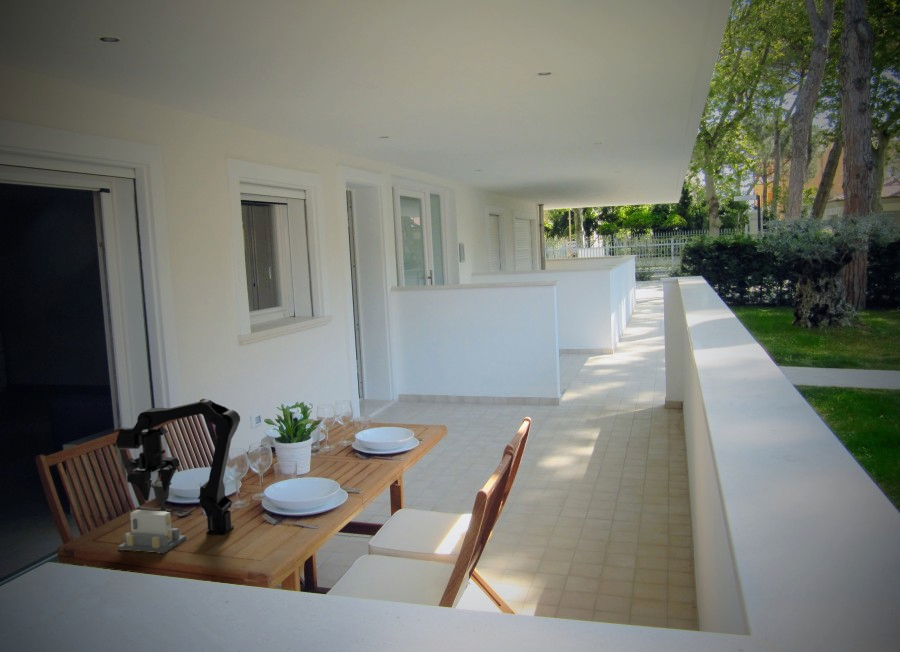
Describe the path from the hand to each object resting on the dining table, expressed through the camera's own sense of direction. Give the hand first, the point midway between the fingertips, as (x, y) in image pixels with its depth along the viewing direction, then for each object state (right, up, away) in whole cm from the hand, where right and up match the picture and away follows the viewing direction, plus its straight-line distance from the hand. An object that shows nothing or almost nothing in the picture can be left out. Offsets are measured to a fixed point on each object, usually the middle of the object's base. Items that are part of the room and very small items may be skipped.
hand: (155, 495), depth 225 cm
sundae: (-5, -11, +19) cm, 23 cm away
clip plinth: (+3, -13, -9) cm, 16 cm away
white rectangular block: (+3, -12, -9) cm, 15 cm away
